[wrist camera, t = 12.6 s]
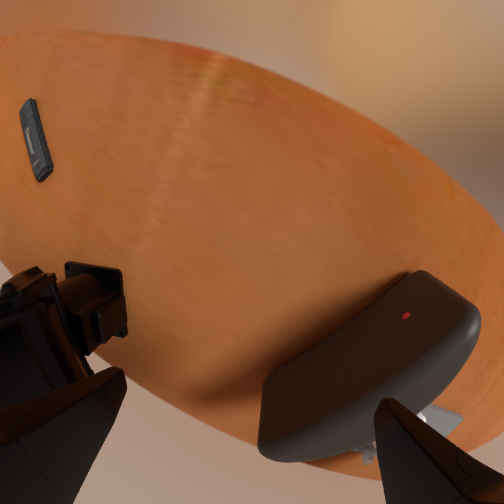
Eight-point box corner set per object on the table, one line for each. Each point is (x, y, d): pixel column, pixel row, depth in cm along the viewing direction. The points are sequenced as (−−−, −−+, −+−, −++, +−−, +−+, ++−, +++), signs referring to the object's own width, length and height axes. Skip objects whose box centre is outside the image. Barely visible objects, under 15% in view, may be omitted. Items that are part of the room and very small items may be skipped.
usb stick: (24, 112, 19) (15, 111, 18) (38, 96, 19) (29, 94, 17) (43, 183, 21) (33, 184, 20) (58, 168, 21) (48, 168, 19)
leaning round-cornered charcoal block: (290, 401, 24) (291, 483, 14) (259, 373, 23) (249, 458, 14) (436, 299, 20) (498, 355, 11) (416, 260, 20) (486, 307, 10)
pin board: (313, 434, 25) (316, 455, 22) (371, 379, 22) (379, 399, 19) (413, 457, 25) (418, 472, 22) (460, 414, 23) (469, 428, 20)
